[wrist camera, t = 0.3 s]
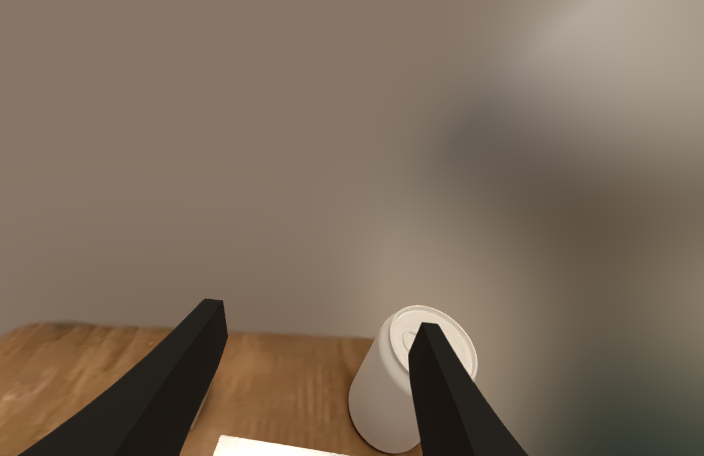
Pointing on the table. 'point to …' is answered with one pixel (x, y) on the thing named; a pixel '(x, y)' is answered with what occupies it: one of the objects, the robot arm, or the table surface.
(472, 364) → the beverage can
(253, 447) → the box
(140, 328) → the table surface
